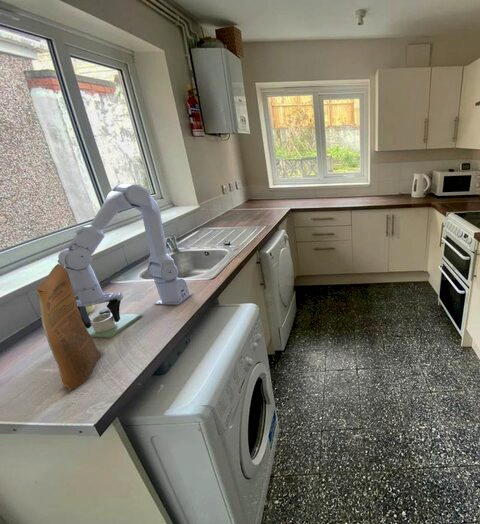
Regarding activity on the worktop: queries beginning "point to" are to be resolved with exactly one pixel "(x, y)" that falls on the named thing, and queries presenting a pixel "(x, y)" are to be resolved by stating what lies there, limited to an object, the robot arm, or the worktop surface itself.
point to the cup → (103, 322)
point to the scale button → (104, 311)
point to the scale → (123, 322)
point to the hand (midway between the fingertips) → (104, 323)
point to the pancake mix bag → (66, 329)
